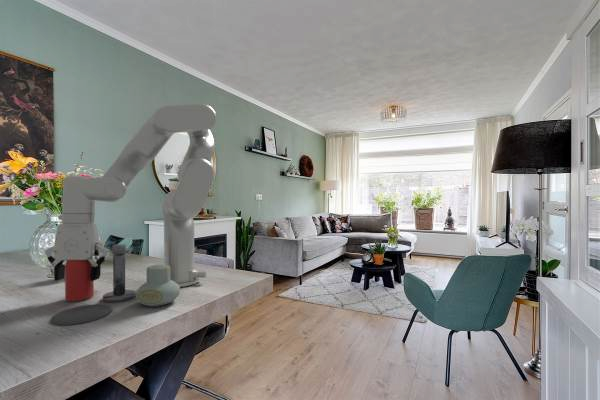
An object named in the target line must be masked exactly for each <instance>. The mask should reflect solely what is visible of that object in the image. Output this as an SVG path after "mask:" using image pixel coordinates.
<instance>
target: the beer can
mask: <svg viewBox="0 0 600 400" xmlns="http://www.w3.org/2000/svg"><path fill="white" fill-rule="evenodd" d="M92 266H93V265H92V264H91V263H90V261H89V260H84V261H75V260H71V261H67V262H66V265H65V278H64V285H65V286H64V294H65V295H64V298H65V301H66V302H68V303H71V302H72V303H73V302H74V303H76V302H82V301H87V300H89V299H91V298H93V297H94V294H95V293H94V290H95V289H94V286H95V285H94V281H91V280H90V273H91V267H92Z"/></svg>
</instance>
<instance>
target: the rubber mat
mask: <svg viewBox="0 0 600 400" xmlns="http://www.w3.org/2000/svg"><path fill="white" fill-rule="evenodd" d="M112 311H113V310H112V306H110V305H108V304H98V303H97V304H87V305H80V306H75V307H72V308H68V309H67V308H66V309H65V310H62V311H60V312H57V313H55V314H54V315H52V317H51V318H50V322H51V324H53V325H56V326H76V325H77V326H78V325H82V324H87V323H90V322H94V321H97V320H101V319H103V318H105V317H107V316H109V315H110V314H111V313H112Z"/></svg>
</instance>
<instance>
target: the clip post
mask: <svg viewBox="0 0 600 400" xmlns="http://www.w3.org/2000/svg"><path fill="white" fill-rule="evenodd" d="M112 271H113V273H112V281H113V282H112V283H113V284H112V285H113V286H112V287H113V288H112V289H113V290H112V291H109V292H106V293H104V294H103V295H102V301H103V302H104V303H109V304H112V303H121V302H125V301H126V302H127V301H130V300H132V299H134V298H135V297H136V291H135V290H134V289H126V253H125V254H117V255H115V254H113V253H112Z"/></svg>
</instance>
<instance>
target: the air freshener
mask: <svg viewBox="0 0 600 400" xmlns="http://www.w3.org/2000/svg"><path fill="white" fill-rule="evenodd" d="M180 292H181V287H179V285H178V284H177V283H176V282H174V281H172V280H170V266H169V265H164V264H155V265H150V266H148V267H147V268H146V282H145V283H143V284H142V285H140V286H139V288H137V290H136V291H135V297H136V300H137V301H138V302H139V303H140V304H142V305H144V306H147V307H150V308H158V307H161V306H164V305H168V304H171V302H174V300H176V299H177V298H178V297H179V295H180Z"/></svg>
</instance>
